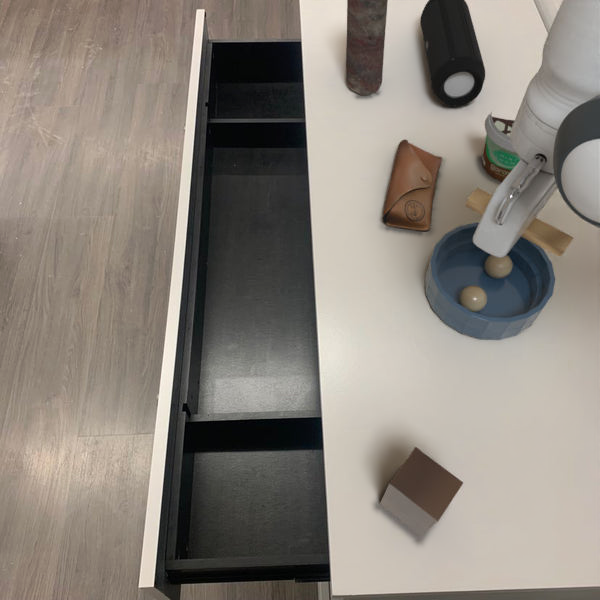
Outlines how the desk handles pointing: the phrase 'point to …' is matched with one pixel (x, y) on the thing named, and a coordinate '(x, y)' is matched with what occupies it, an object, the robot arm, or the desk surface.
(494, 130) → the food container
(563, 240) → the tan wooden bar
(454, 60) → the portable speaker
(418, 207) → the sunglasses case
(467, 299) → the ball
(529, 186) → the robot arm
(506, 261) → the ball
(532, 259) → the bowl
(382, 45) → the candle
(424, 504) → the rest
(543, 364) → the desk surface
